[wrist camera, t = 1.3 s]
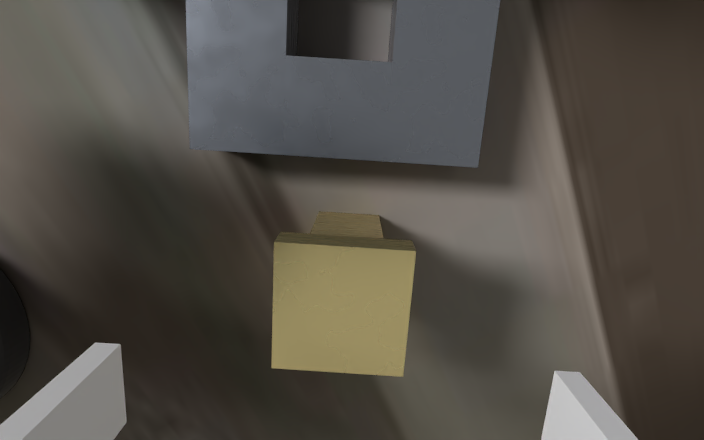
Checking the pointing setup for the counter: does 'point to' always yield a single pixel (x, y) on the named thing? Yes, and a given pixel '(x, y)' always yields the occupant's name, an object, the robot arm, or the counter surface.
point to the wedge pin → (342, 297)
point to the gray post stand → (341, 84)
